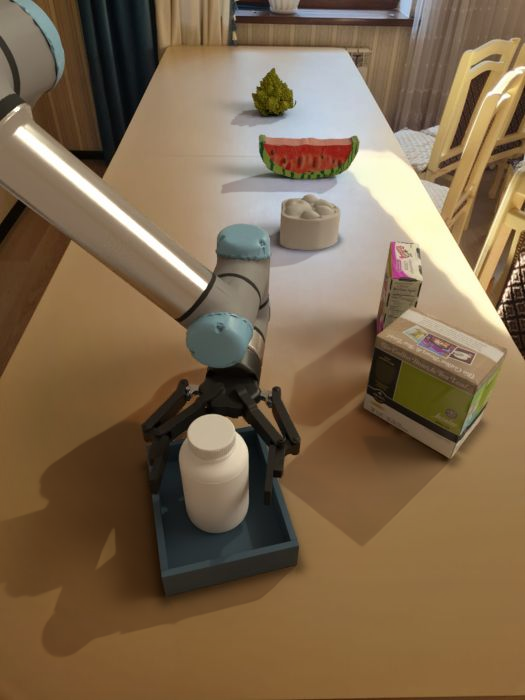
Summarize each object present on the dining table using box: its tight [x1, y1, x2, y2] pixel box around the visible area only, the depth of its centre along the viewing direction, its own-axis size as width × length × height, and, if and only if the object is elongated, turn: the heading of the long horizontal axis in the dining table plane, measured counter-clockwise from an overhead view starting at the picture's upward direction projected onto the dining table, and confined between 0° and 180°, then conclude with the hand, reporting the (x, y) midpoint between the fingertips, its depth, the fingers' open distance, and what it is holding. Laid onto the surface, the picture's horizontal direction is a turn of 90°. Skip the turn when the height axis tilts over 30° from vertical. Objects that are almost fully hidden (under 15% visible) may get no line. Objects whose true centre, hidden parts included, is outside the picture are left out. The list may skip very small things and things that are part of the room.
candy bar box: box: [376, 241, 424, 336], centre depth 91 cm, size 11×5×16 cm, turn 171°
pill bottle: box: [179, 414, 249, 533], centre depth 64 cm, size 8×8×15 cm
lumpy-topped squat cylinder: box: [279, 193, 342, 251], centre depth 119 cm, size 10×13×9 cm
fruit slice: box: [258, 133, 360, 180], centre depth 145 cm, size 26×6×10 cm, turn 91°
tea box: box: [363, 306, 509, 460], centre depth 78 cm, size 15×10×15 cm, turn 48°
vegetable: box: [251, 67, 297, 117], centre depth 184 cm, size 15×16×15 cm
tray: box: [145, 425, 300, 597], centre depth 68 cm, size 19×16×4 cm
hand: (209, 493), depth 61 cm, fingers open, 12 cm apart
